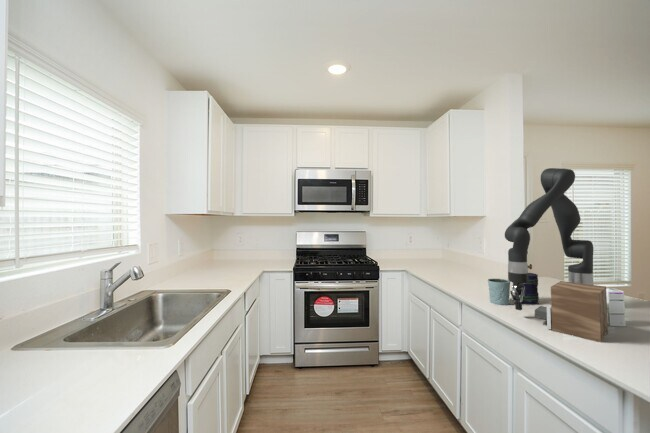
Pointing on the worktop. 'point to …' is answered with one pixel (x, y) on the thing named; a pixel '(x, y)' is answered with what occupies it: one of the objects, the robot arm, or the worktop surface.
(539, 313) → the drawer
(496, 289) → the teal planter pot
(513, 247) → the robot arm
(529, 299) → the storage jar
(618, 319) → the syrup box
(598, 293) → the wood grain block
